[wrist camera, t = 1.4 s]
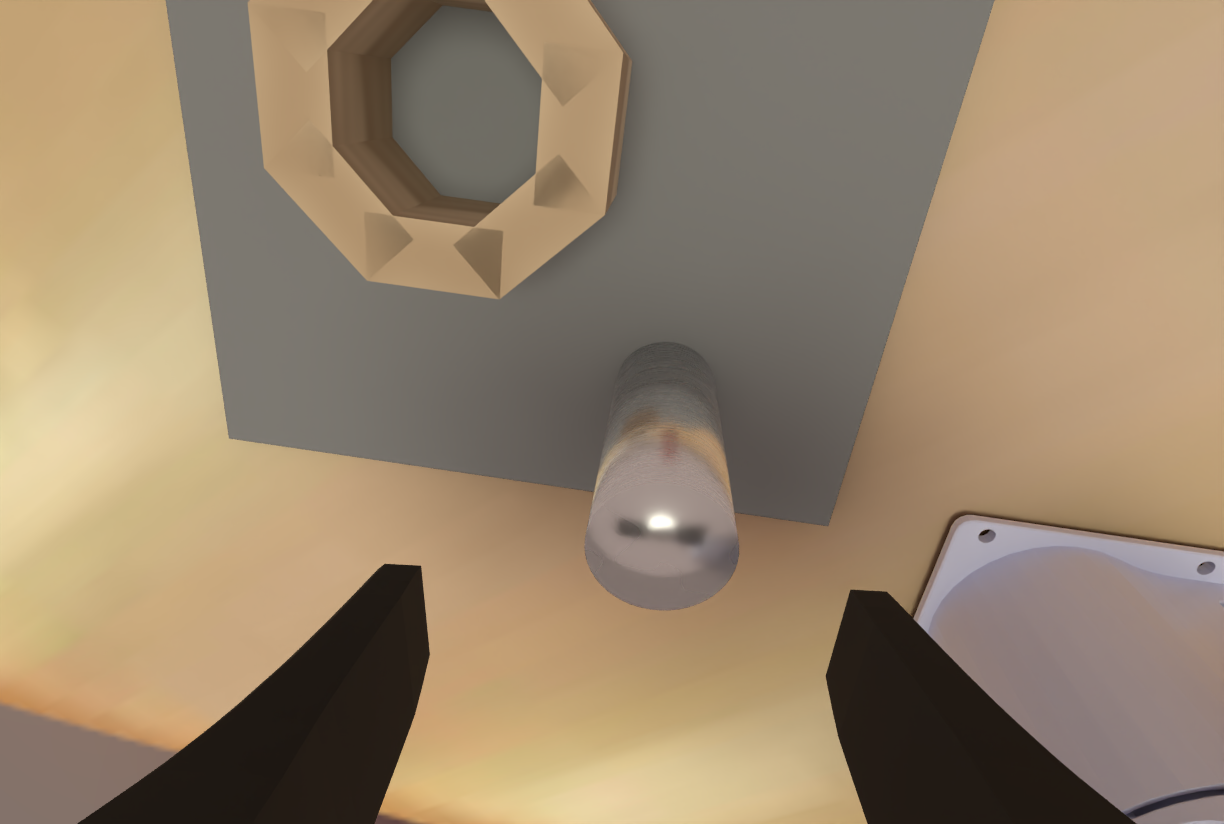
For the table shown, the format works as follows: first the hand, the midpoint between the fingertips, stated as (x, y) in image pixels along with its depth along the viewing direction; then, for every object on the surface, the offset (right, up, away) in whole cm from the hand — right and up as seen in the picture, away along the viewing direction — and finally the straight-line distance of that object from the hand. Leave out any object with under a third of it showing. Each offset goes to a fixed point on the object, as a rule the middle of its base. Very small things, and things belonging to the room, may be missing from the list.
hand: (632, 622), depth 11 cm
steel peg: (+1, +4, +9) cm, 10 cm away
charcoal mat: (-2, +9, +8) cm, 12 cm away
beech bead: (-4, +11, +6) cm, 13 cm away
